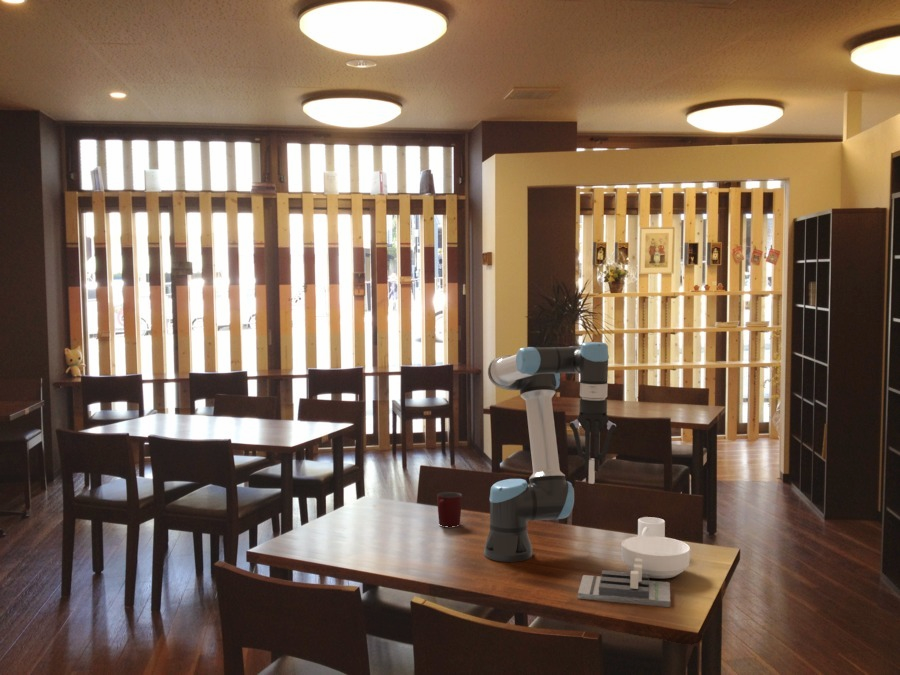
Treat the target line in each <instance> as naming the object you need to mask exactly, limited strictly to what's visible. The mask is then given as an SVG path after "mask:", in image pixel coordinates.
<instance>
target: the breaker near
mask: <svg viewBox="0 0 900 675" xmlns="http://www.w3.org/2000/svg"><path fill="white" fill-rule="evenodd" d="M630 588H633V589H638V571H632V570H630Z"/></svg>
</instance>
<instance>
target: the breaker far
mask: <svg viewBox="0 0 900 675" xmlns="http://www.w3.org/2000/svg"><path fill="white" fill-rule="evenodd" d="M635 564H636V565H642V559H638V558H635Z"/></svg>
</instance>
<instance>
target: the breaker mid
mask: <svg viewBox="0 0 900 675" xmlns="http://www.w3.org/2000/svg"><path fill="white" fill-rule="evenodd" d="M634 571H638V582H642V565H636V564H634Z"/></svg>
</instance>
